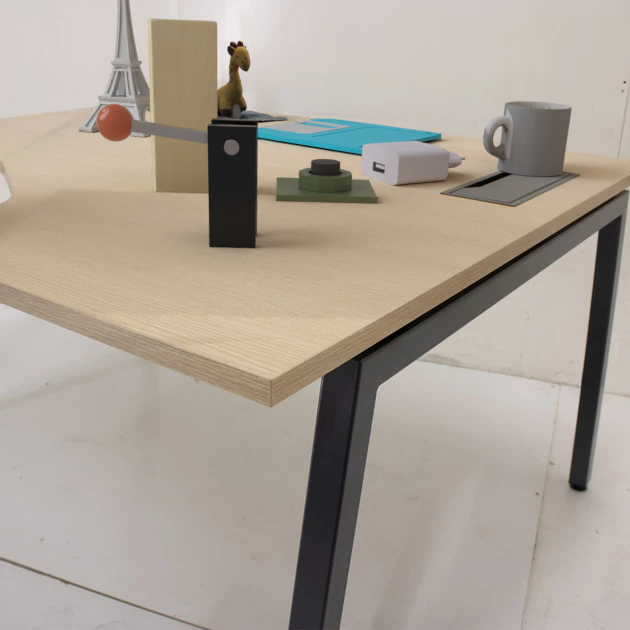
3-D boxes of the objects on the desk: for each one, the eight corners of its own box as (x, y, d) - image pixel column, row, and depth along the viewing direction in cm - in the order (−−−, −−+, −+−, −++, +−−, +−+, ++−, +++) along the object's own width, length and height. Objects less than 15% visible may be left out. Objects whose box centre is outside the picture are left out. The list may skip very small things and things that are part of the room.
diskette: (365, 155, 132) (366, 149, 131) (239, 135, 147) (239, 129, 147) (442, 138, 151) (442, 133, 151) (323, 122, 167) (324, 117, 166)
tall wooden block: (211, 183, 109) (208, 19, 101) (219, 195, 102) (217, 21, 94) (151, 184, 107) (144, 17, 99) (156, 197, 100) (149, 19, 92)
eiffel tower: (143, 137, 142) (135, -47, 131) (78, 131, 146) (65, -49, 135) (178, 127, 154) (173, -42, 143) (117, 122, 158) (108, -44, 147)
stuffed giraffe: (226, 124, 159) (227, 39, 154) (177, 116, 171) (175, 38, 166) (287, 121, 169) (290, 42, 164) (236, 114, 182) (237, 40, 177)
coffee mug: (548, 164, 130) (557, 101, 127) (572, 177, 121) (582, 109, 118) (469, 163, 129) (475, 99, 126) (486, 175, 120) (494, 107, 116)
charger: (479, 179, 118) (396, 187, 110) (440, 167, 125) (360, 174, 118) (483, 147, 116) (398, 152, 109) (443, 137, 123) (362, 142, 116)
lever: (91, 141, 72) (93, 103, 71) (99, 135, 76) (101, 99, 74) (245, 165, 74) (250, 128, 73) (246, 158, 77) (251, 123, 76)
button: (311, 178, 96) (311, 163, 96) (310, 172, 100) (310, 158, 99) (340, 179, 97) (341, 164, 96) (338, 173, 100) (339, 159, 99)
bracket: (166, 267, 74) (161, 127, 69) (178, 240, 82) (174, 114, 78) (295, 269, 75) (298, 131, 70) (294, 242, 83) (297, 117, 78)
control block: (275, 212, 95) (276, 179, 93) (276, 193, 104) (276, 163, 102) (376, 215, 95) (378, 182, 94) (367, 196, 104) (369, 165, 103)
